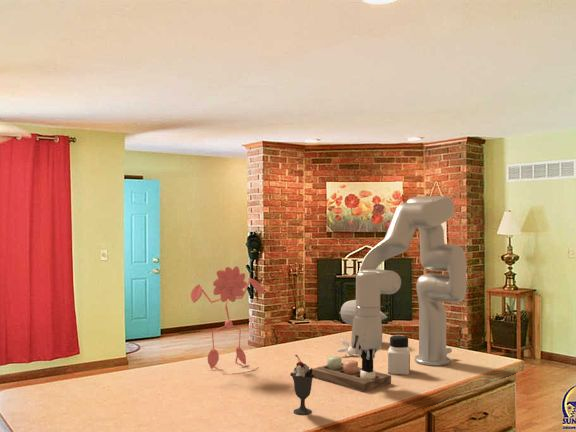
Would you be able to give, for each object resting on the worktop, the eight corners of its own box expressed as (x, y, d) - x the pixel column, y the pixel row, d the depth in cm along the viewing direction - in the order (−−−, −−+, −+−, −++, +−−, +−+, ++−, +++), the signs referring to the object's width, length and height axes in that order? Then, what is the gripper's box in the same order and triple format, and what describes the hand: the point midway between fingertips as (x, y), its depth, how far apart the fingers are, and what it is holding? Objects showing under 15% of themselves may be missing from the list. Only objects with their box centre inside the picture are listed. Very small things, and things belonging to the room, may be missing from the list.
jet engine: (355, 349, 226) (355, 304, 226) (336, 338, 245) (336, 297, 245) (389, 347, 230) (389, 303, 230) (368, 336, 250) (368, 296, 250)
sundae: (288, 408, 156) (289, 352, 156) (313, 407, 157) (313, 352, 157) (291, 416, 150) (291, 358, 150) (316, 415, 150) (316, 358, 150)
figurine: (186, 366, 198) (188, 265, 198) (256, 359, 209) (257, 263, 208) (199, 379, 184) (201, 270, 184) (273, 370, 195) (275, 268, 195)
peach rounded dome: (349, 370, 186) (350, 359, 186) (360, 373, 183) (360, 362, 183) (340, 372, 183) (340, 361, 183) (351, 375, 180) (351, 364, 180)
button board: (338, 369, 196) (338, 362, 196) (391, 383, 179) (391, 375, 179) (311, 376, 187) (311, 368, 187) (364, 392, 171) (364, 383, 171)
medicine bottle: (409, 375, 189) (410, 338, 189) (387, 373, 191) (388, 337, 191) (409, 369, 196) (409, 334, 196) (388, 368, 198) (388, 333, 198)
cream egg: (366, 379, 181) (366, 368, 181) (378, 382, 178) (378, 371, 178) (357, 382, 178) (357, 371, 178) (368, 385, 175) (368, 374, 175)
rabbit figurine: (357, 357, 212) (337, 347, 213) (353, 363, 215) (334, 353, 216) (361, 346, 217) (342, 336, 218) (357, 352, 219) (338, 342, 220)
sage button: (334, 366, 191) (334, 355, 191) (344, 368, 188) (344, 358, 188) (324, 368, 188) (324, 357, 188) (334, 371, 185) (334, 360, 185)
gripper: (373, 308, 186) (373, 365, 186) (342, 313, 176) (342, 373, 176) (392, 310, 180) (392, 369, 180) (361, 316, 170) (361, 378, 170)
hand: (367, 371), depth 178 cm, fingers closed
